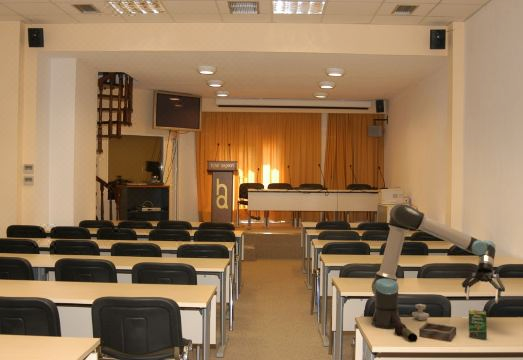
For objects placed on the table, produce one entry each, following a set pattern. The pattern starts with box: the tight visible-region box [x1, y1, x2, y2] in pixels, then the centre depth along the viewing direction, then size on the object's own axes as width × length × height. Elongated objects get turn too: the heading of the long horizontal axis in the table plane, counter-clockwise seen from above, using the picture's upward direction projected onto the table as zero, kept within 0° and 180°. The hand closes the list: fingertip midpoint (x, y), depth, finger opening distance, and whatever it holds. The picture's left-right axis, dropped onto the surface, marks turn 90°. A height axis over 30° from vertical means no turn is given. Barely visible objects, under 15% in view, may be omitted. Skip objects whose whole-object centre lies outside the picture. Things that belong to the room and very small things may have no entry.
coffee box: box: [468, 309, 488, 340], centre depth 241 cm, size 8×3×13 cm, turn 60°
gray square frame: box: [418, 322, 457, 343], centre depth 244 cm, size 14×14×4 cm
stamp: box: [411, 303, 430, 321], centre depth 274 cm, size 9×7×8 cm
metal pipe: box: [394, 322, 418, 343], centre depth 242 cm, size 18×7×6 cm, turn 5°
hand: (481, 300), depth 250 cm, fingers open, 13 cm apart
